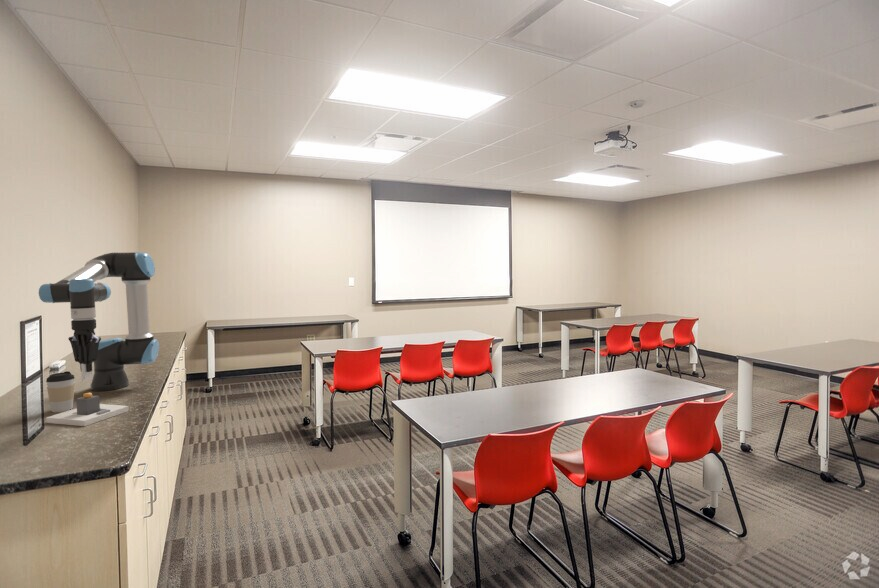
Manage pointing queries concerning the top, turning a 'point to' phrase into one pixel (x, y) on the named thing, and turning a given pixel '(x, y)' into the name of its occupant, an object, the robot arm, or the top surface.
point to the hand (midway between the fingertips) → (87, 380)
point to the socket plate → (84, 420)
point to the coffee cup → (61, 391)
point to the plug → (88, 404)
